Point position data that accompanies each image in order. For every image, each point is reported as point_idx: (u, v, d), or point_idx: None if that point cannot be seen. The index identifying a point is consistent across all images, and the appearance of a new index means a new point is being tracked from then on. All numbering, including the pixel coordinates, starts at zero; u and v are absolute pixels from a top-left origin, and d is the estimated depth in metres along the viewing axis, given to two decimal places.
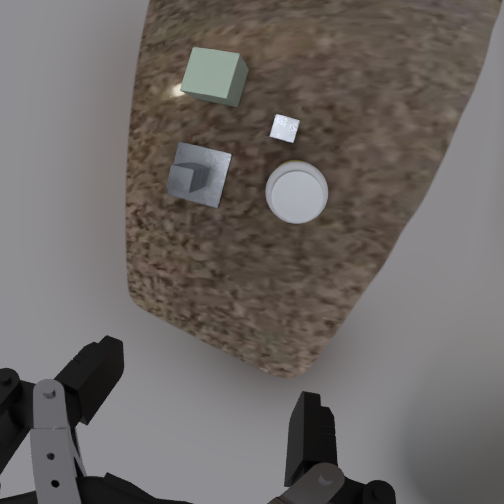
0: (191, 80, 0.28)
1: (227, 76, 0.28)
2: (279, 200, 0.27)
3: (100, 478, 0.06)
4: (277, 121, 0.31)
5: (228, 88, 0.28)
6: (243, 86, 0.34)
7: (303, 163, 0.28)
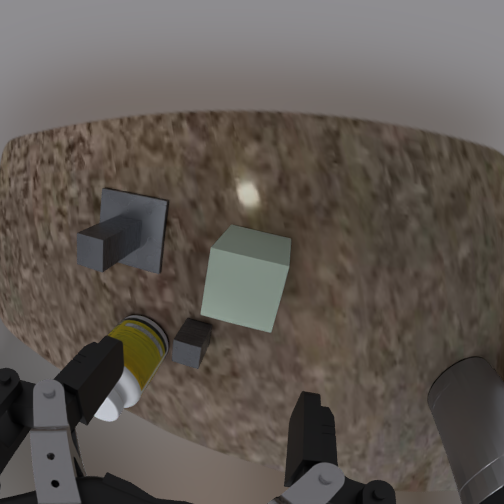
0: (227, 265, 0.20)
1: (234, 317, 0.22)
2: None
3: (100, 478, 0.06)
4: (192, 348, 0.26)
5: (215, 317, 0.22)
6: None
7: (137, 394, 0.24)
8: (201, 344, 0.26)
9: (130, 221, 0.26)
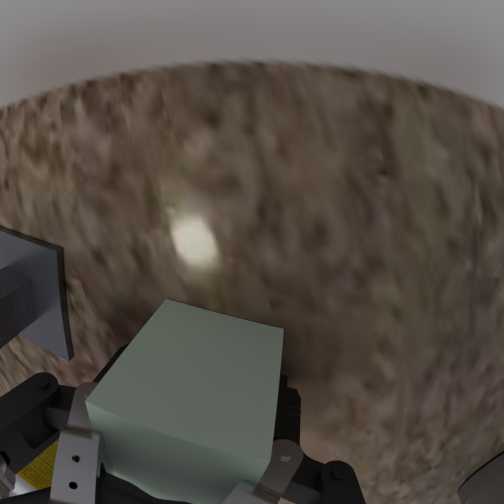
0: (127, 437, 0.07)
1: (165, 495, 0.08)
2: None
3: (100, 478, 0.06)
4: None
5: None
6: None
7: None
8: None
9: (11, 283, 0.13)
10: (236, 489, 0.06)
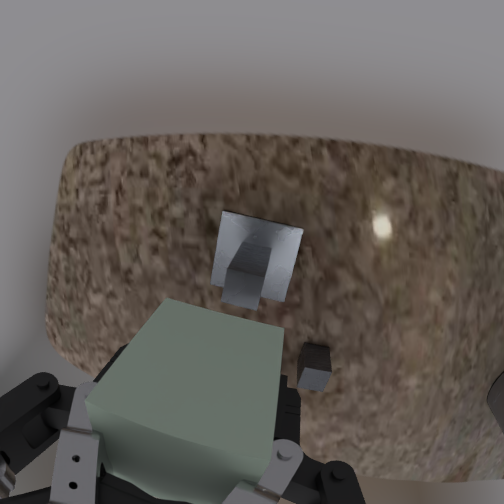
0: (127, 437, 0.07)
1: (165, 495, 0.08)
2: None
3: (100, 478, 0.06)
4: (322, 373, 0.26)
5: None
6: None
7: None
8: (330, 368, 0.26)
9: (263, 249, 0.26)
10: (236, 489, 0.06)
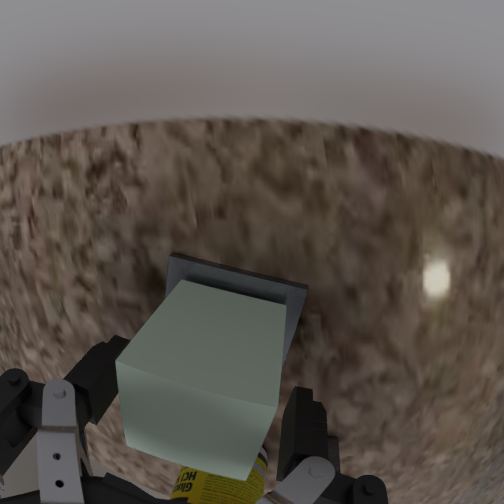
0: (151, 394, 0.09)
1: (180, 458, 0.10)
2: None
3: (100, 478, 0.06)
4: None
5: (151, 453, 0.10)
6: None
7: None
8: None
9: None
10: (261, 501, 0.06)
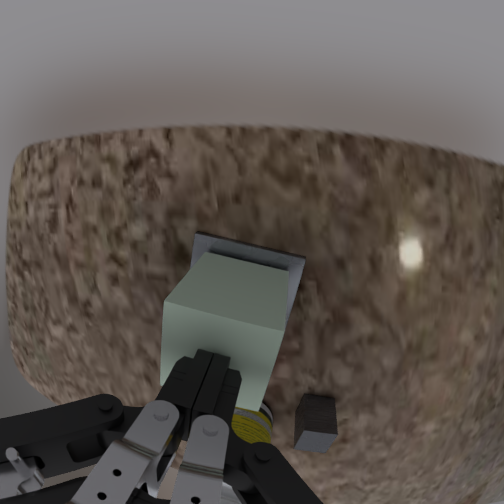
0: (190, 327, 0.13)
1: None
2: None
3: None
4: (326, 436, 0.19)
5: None
6: None
7: None
8: (336, 429, 0.19)
9: None
10: (180, 475, 0.06)
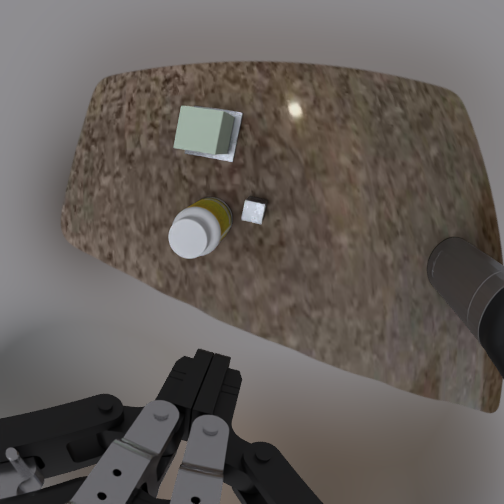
0: (189, 114, 0.33)
1: (193, 146, 0.34)
2: (182, 225, 0.34)
3: None
4: (258, 206, 0.39)
5: (182, 148, 0.34)
6: None
7: (218, 236, 0.36)
8: (264, 203, 0.39)
9: None
10: (180, 475, 0.06)
